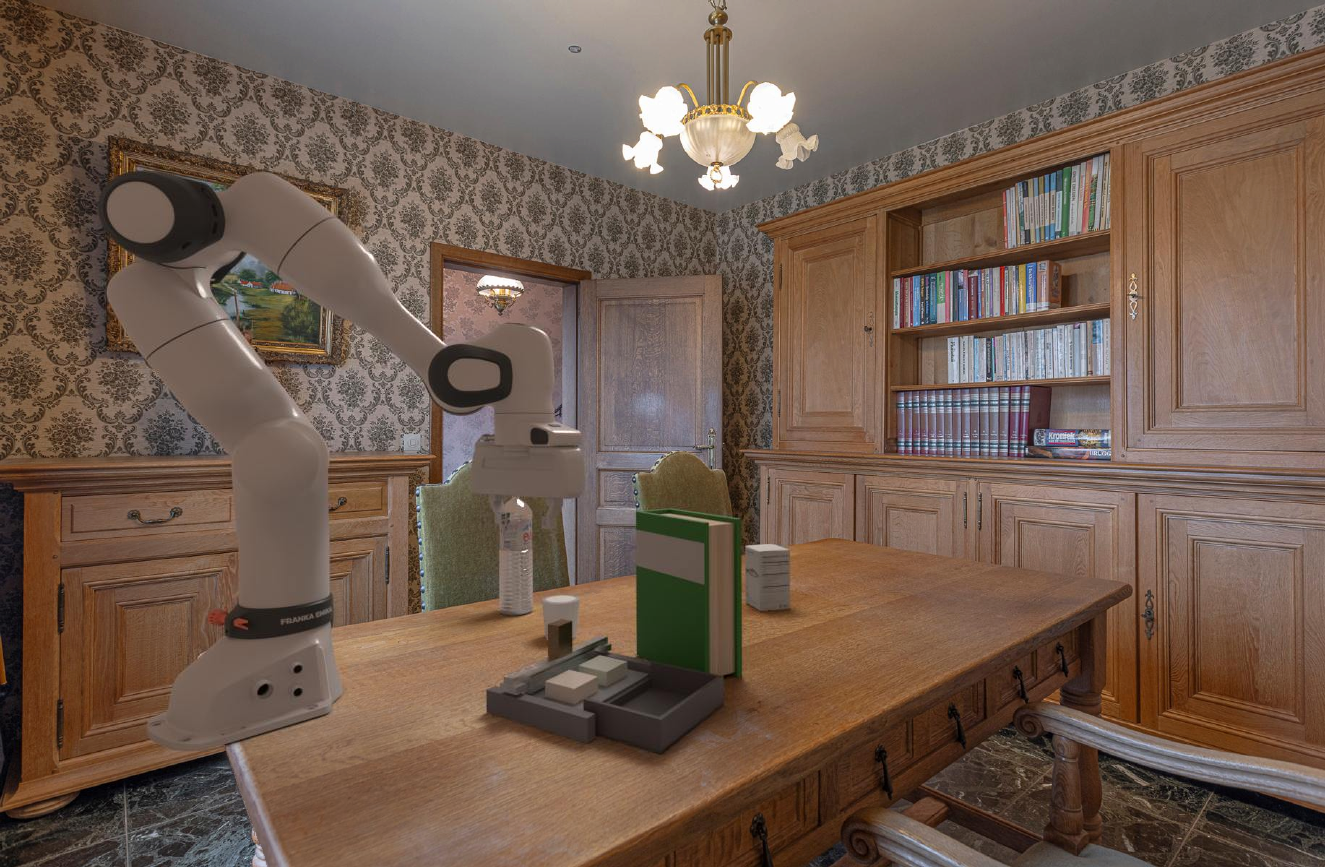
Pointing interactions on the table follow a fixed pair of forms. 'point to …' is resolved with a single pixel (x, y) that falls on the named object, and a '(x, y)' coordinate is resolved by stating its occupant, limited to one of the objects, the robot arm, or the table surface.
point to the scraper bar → (554, 659)
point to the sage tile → (605, 669)
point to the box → (658, 707)
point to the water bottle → (516, 560)
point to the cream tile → (571, 686)
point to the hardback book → (689, 590)
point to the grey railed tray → (564, 703)
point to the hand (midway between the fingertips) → (525, 526)
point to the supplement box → (767, 577)
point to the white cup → (561, 610)
